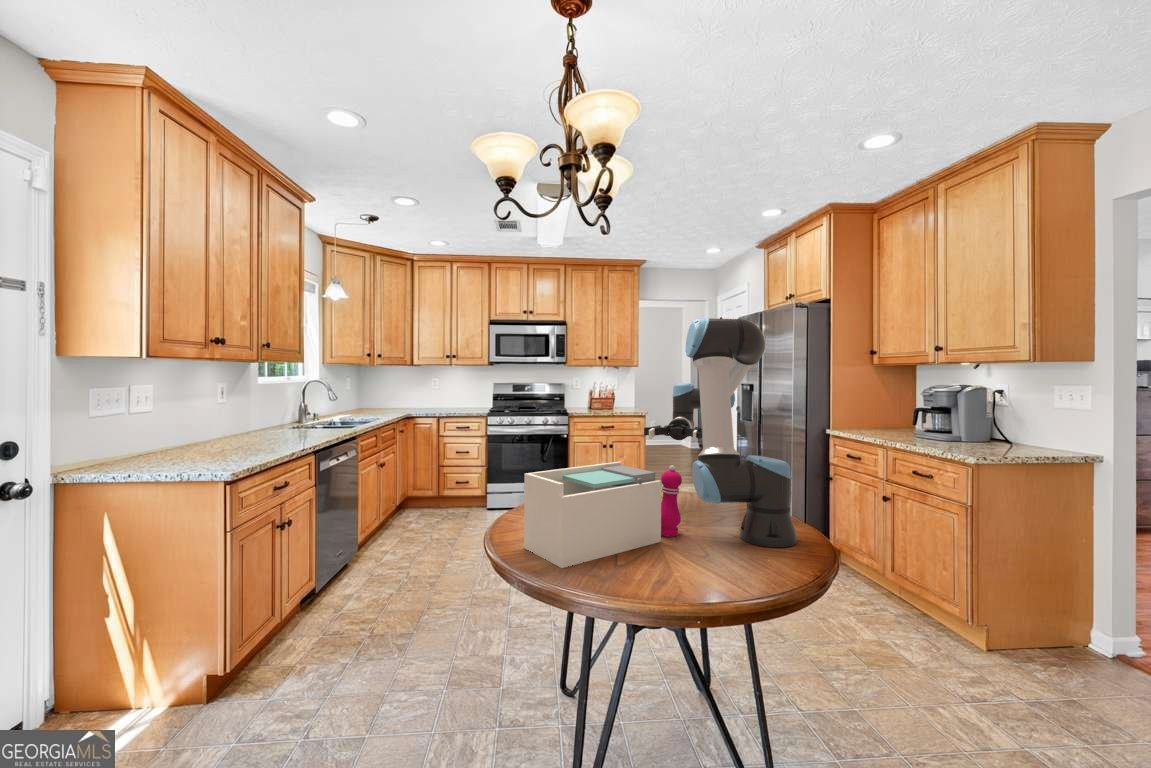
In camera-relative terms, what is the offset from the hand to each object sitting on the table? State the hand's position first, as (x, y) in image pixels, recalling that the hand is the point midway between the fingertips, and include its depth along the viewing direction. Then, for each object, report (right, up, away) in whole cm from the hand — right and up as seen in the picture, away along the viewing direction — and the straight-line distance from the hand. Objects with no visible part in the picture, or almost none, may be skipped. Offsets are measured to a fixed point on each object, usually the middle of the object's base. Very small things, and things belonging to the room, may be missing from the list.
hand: (671, 435), depth 158 cm
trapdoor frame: (-25, -28, -19) cm, 42 cm away
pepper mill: (-3, -28, -9) cm, 30 cm away
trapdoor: (-20, -13, -16) cm, 29 cm away
